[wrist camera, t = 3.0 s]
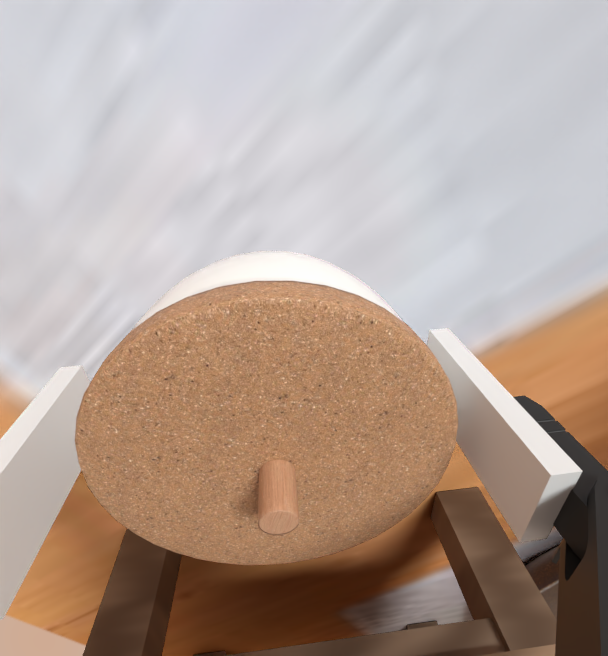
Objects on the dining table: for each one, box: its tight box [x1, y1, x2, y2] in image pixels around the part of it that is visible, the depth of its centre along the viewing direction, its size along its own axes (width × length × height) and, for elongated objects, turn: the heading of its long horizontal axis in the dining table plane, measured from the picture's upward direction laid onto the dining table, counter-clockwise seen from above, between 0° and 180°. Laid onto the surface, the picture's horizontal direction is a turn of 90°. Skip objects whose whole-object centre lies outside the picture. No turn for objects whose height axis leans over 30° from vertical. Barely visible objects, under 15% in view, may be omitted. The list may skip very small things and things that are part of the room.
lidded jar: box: [75, 251, 458, 565], centre depth 13 cm, size 11×11×9 cm
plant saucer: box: [525, 546, 560, 620], centre depth 32 cm, size 21×21×3 cm
